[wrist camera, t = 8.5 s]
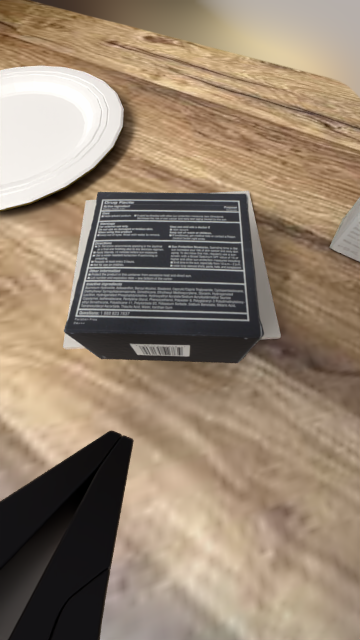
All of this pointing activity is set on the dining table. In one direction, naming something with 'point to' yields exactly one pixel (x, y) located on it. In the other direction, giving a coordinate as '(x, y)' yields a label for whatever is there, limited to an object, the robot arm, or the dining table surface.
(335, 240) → the skincare box
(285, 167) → the dining table surface
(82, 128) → the plate
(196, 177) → the dining table surface
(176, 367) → the dining table surface
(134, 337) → the small box
